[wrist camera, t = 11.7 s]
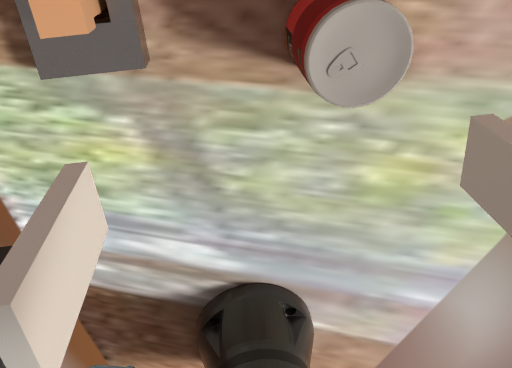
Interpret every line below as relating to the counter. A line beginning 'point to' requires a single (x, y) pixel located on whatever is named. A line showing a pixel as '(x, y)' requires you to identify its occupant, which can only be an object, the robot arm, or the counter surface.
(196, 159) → the counter surface
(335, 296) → the counter surface
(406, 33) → the canned food
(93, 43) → the grey slotted base
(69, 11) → the clip
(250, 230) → the counter surface
